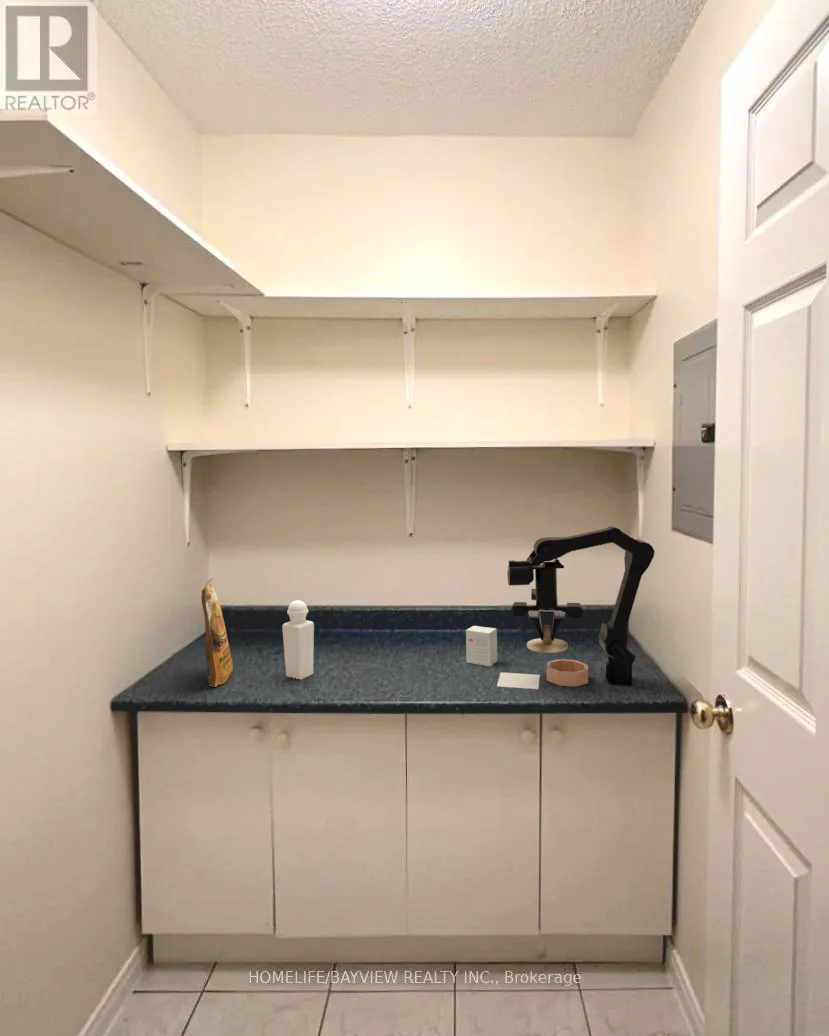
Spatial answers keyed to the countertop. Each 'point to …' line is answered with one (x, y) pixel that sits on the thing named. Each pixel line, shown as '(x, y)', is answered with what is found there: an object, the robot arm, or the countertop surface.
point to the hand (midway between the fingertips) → (547, 640)
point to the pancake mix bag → (215, 638)
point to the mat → (518, 680)
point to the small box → (481, 645)
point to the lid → (547, 642)
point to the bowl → (567, 672)
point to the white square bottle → (298, 642)
